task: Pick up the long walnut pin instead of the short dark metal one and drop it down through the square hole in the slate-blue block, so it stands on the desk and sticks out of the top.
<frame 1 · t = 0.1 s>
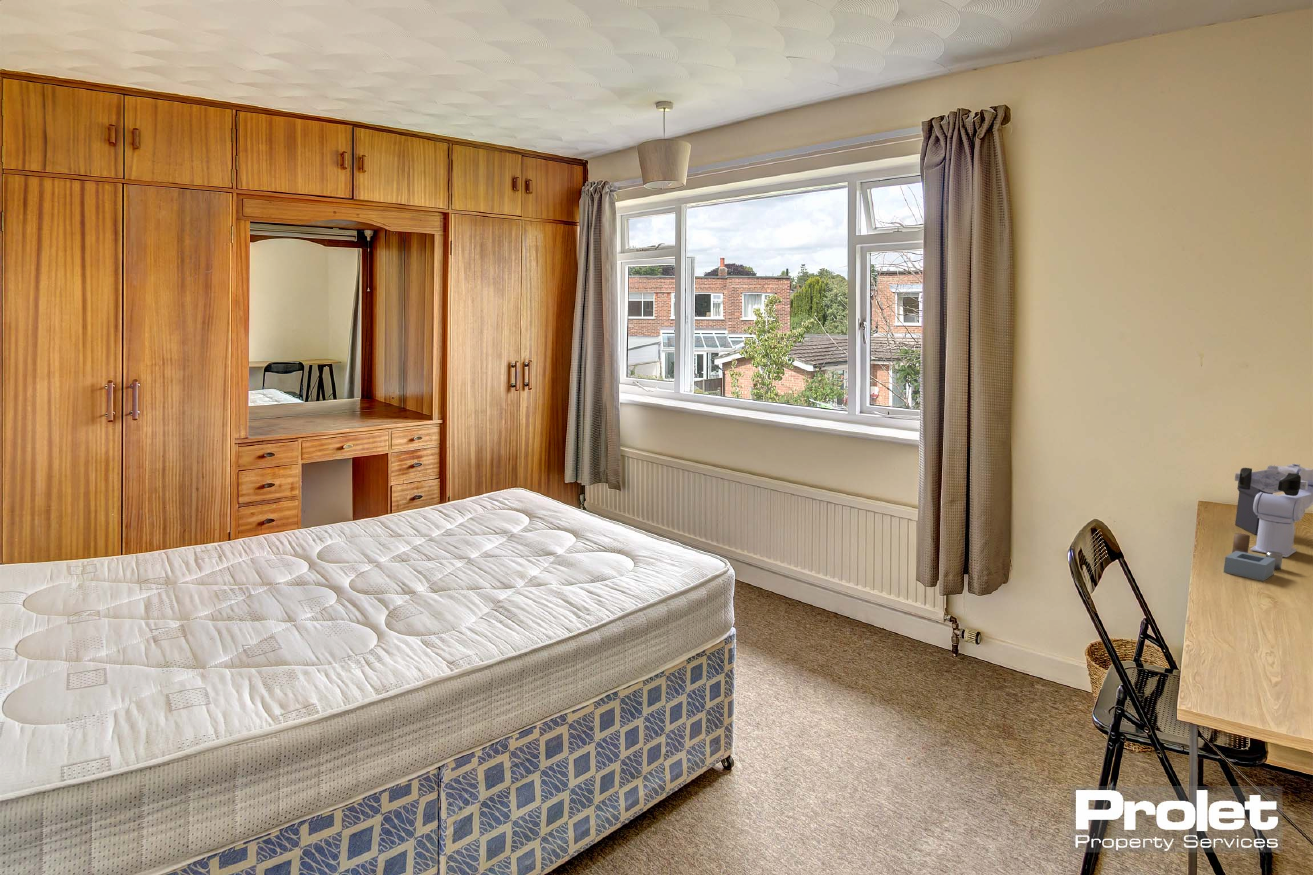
hand: (1260, 483, 187), 22 cm above the table, tool horizontal, fingers open, 7 cm apart
hole block: (1248, 573, 186), on the table
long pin: (1238, 560, 195), on the table
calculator: (1250, 530, 222), on the table
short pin: (1272, 568, 189), on the table
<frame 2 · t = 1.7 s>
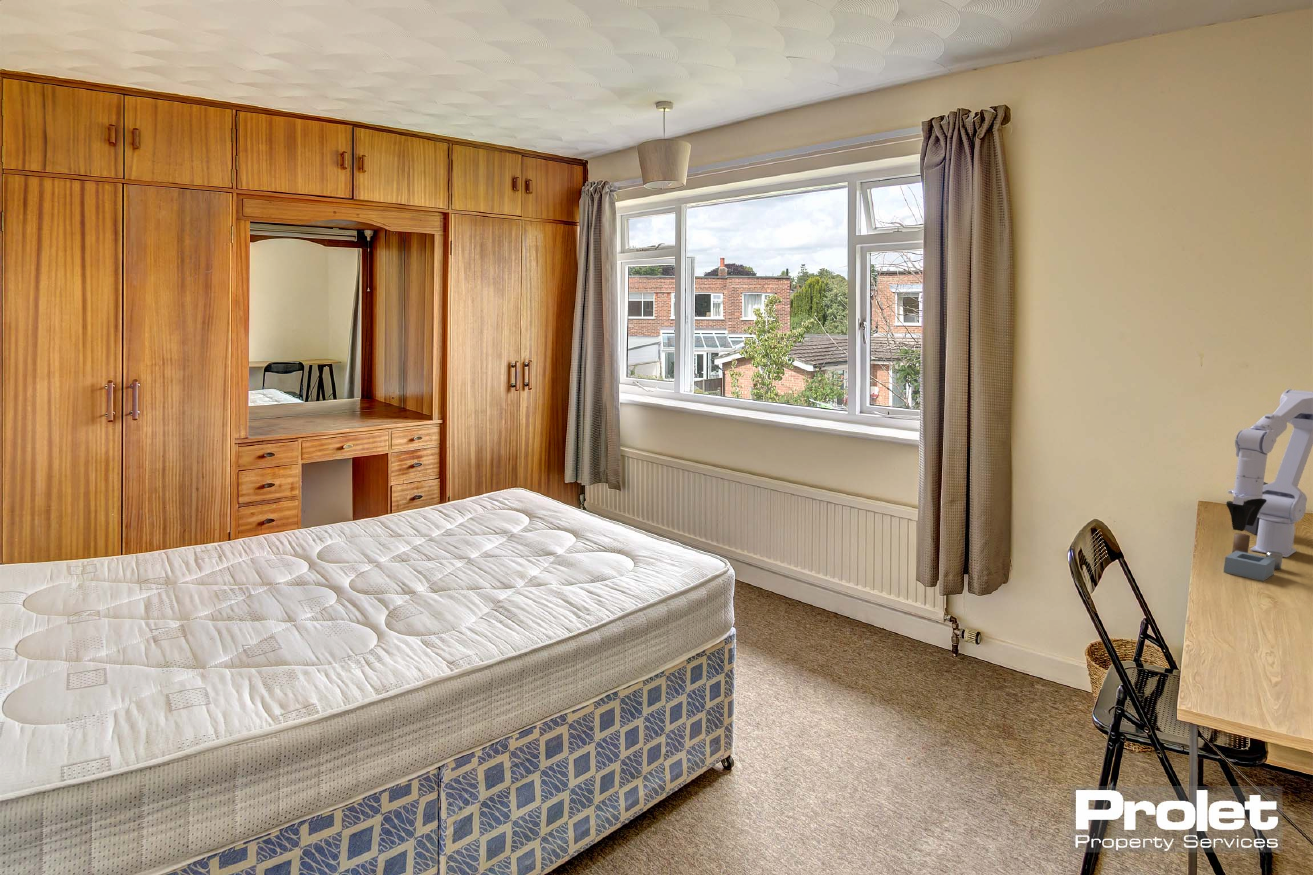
hand: (1243, 527, 193), 9 cm above the table, tool pointing down, fingers open, 7 cm apart
nothing on the table moved.
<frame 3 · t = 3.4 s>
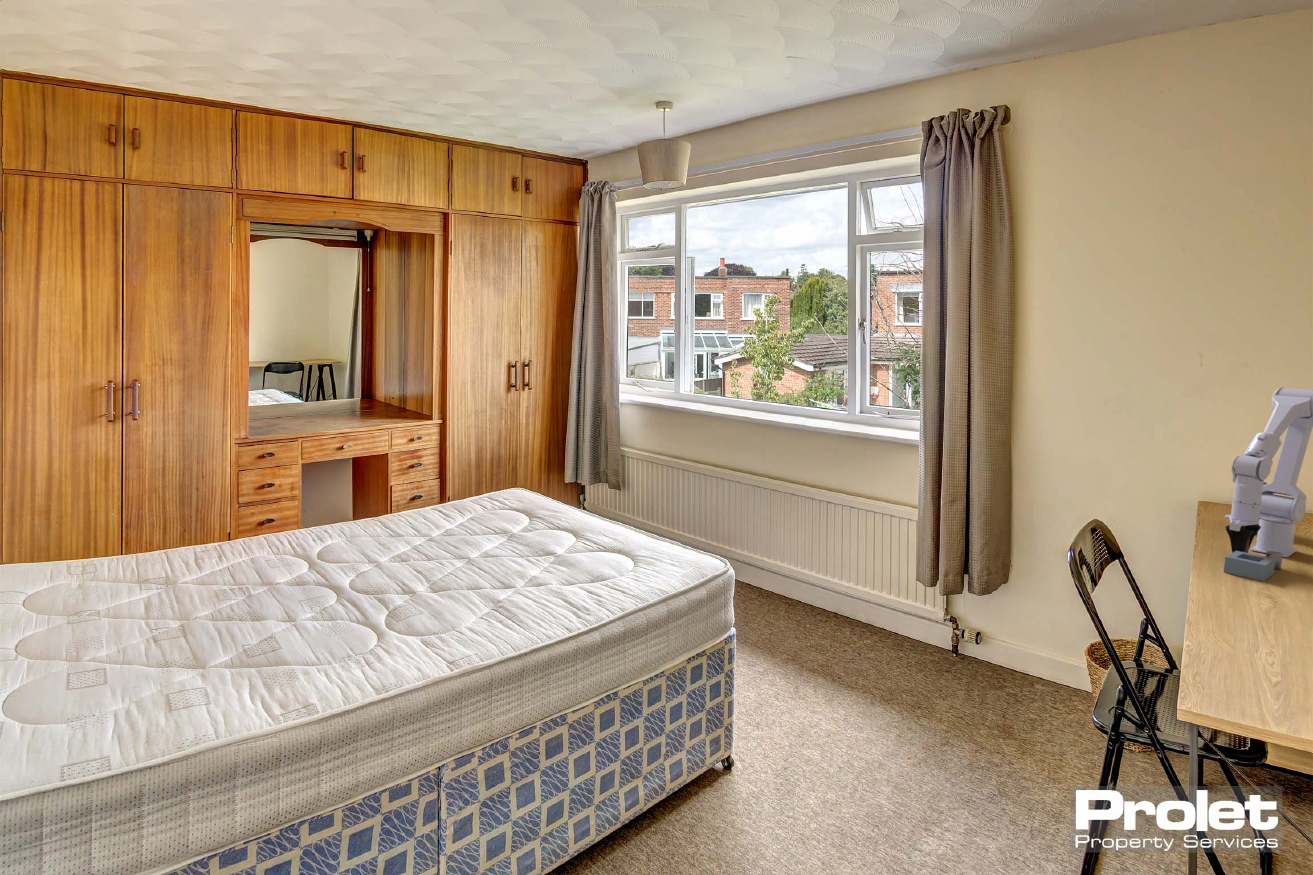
hand: (1239, 552, 194), 2 cm above the table, tool pointing down, fingers closed on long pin, 3 cm apart
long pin: (1238, 560, 195), on the table, touching gripper
everything else where it was.
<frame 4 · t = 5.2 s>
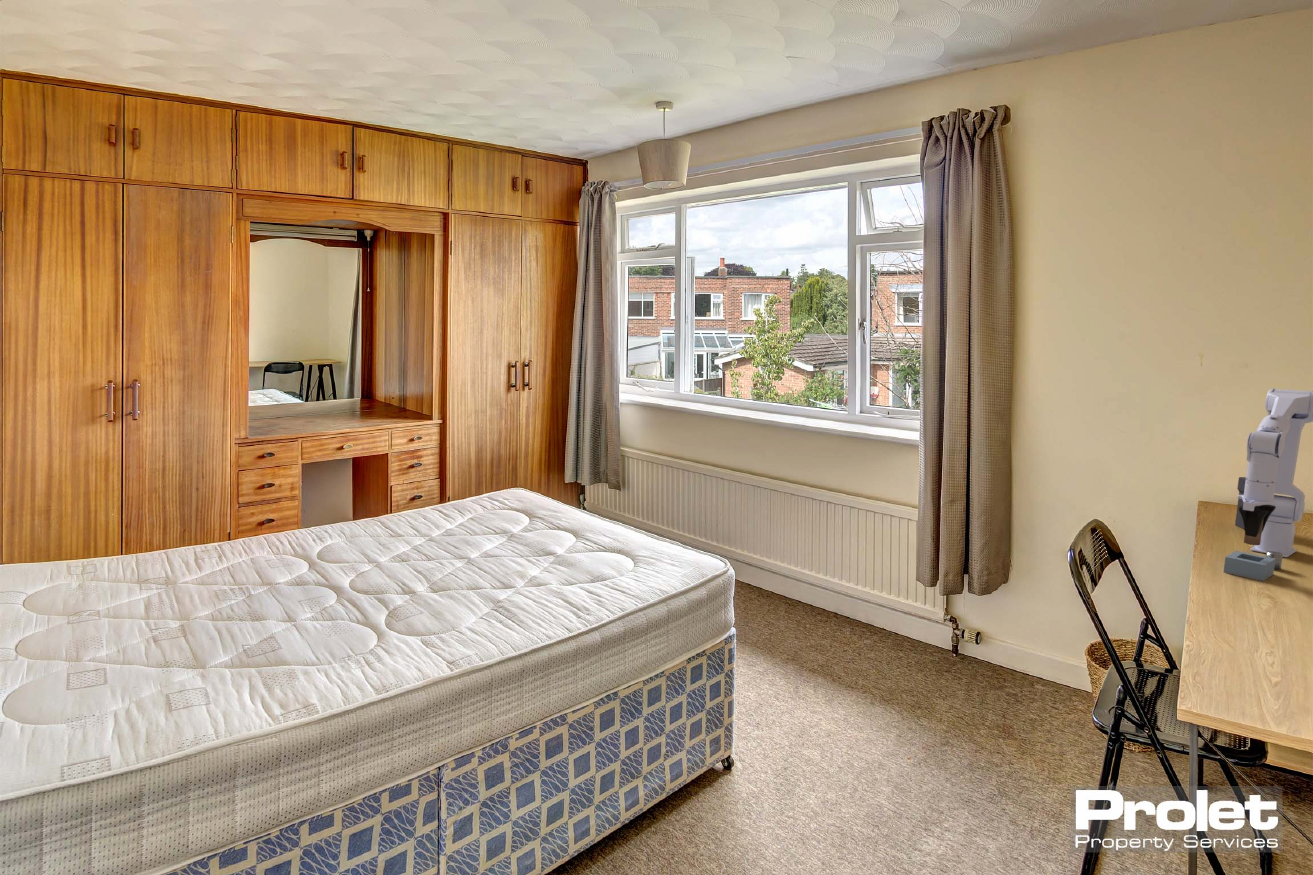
hand: (1253, 534, 184), 10 cm above the table, tool pointing down, fingers closed on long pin, 3 cm apart
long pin: (1251, 543, 184), point 8 cm above the table, touching gripper
everything else where it was.
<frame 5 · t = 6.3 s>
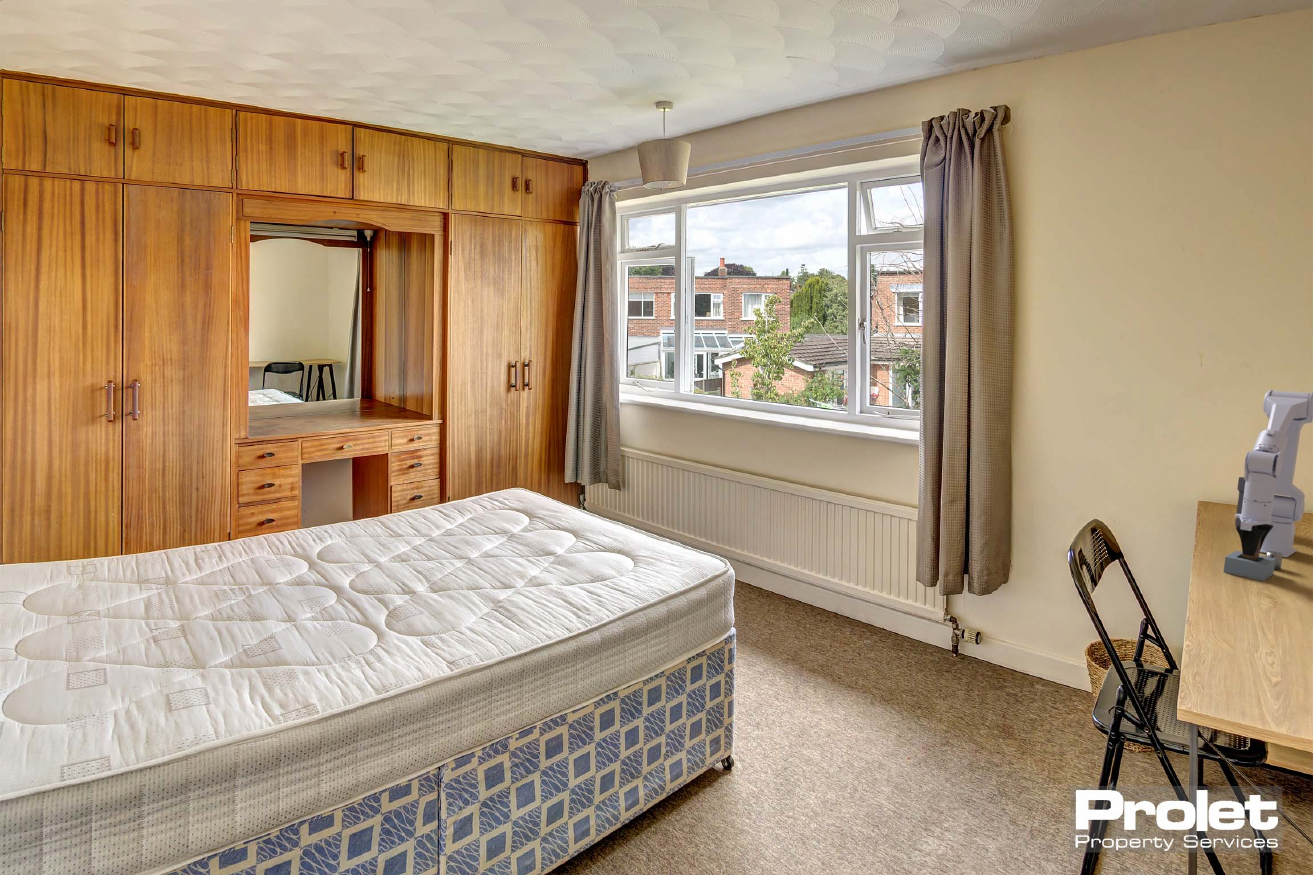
hand: (1250, 553, 185), 5 cm above the table, tool pointing down, fingers closed on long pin, 3 cm apart
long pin: (1249, 562, 185), point 3 cm above the table, touching gripper
everything else where it was.
when the fingers open (5 cm above the table, at t = 7.1 s): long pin drops 3 cm, resting in hole block.
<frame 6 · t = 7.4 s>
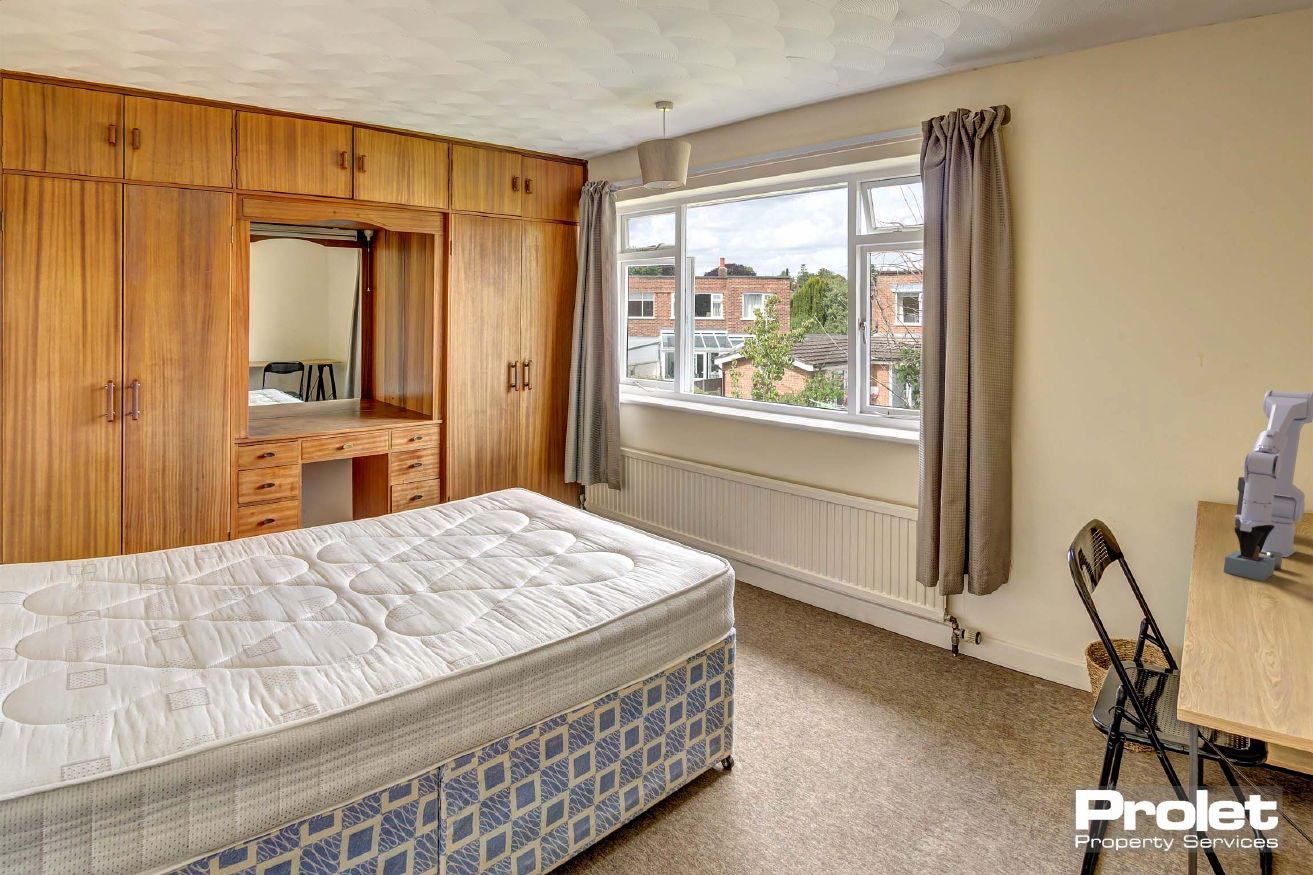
hand: (1250, 554, 185), 5 cm above the table, tool pointing down, fingers open, 5 cm apart
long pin: (1248, 573, 186), resting in hole block
everything else where it was.
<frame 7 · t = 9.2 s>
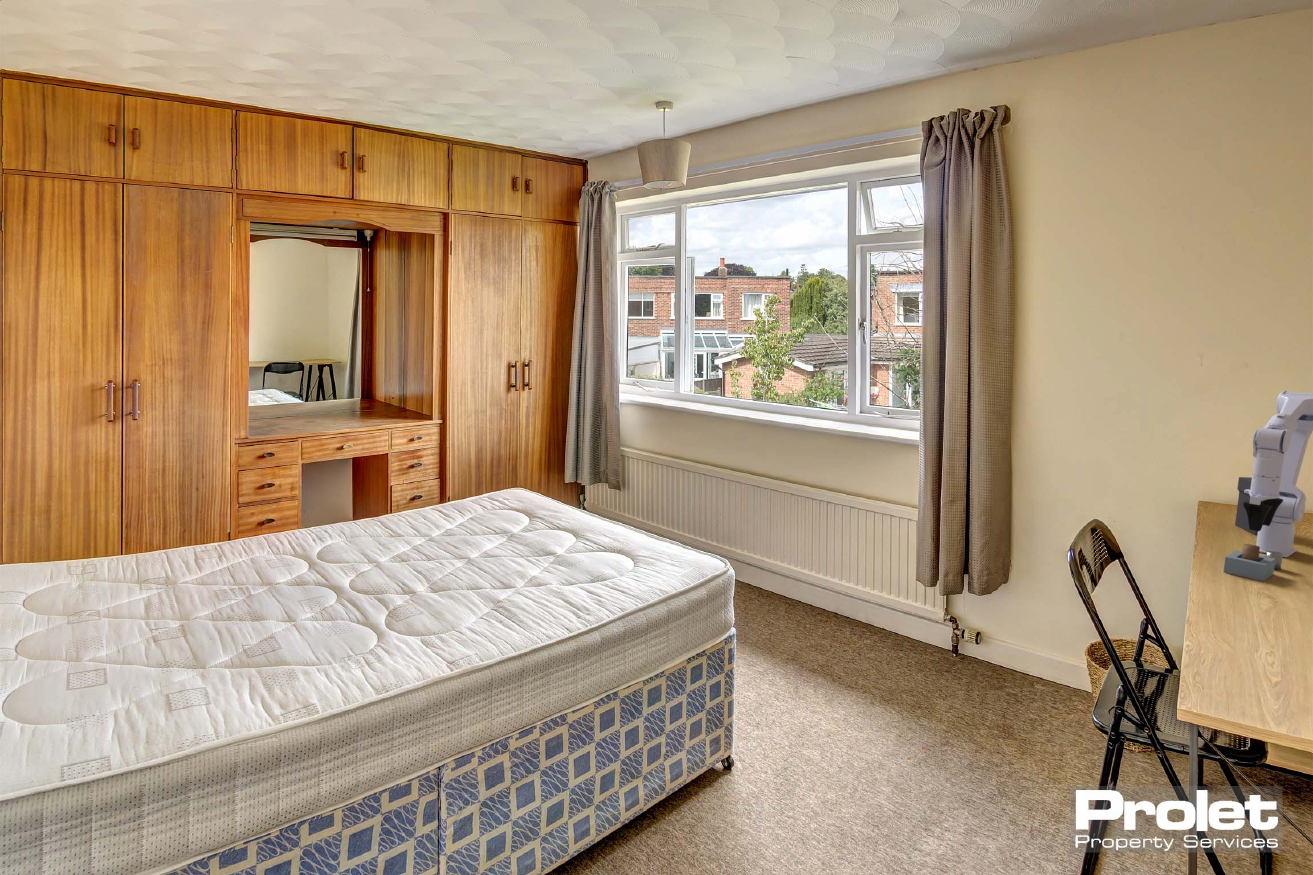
hand: (1259, 527, 192), 9 cm above the table, tool pointing down, fingers open, 7 cm apart
nothing on the table moved.
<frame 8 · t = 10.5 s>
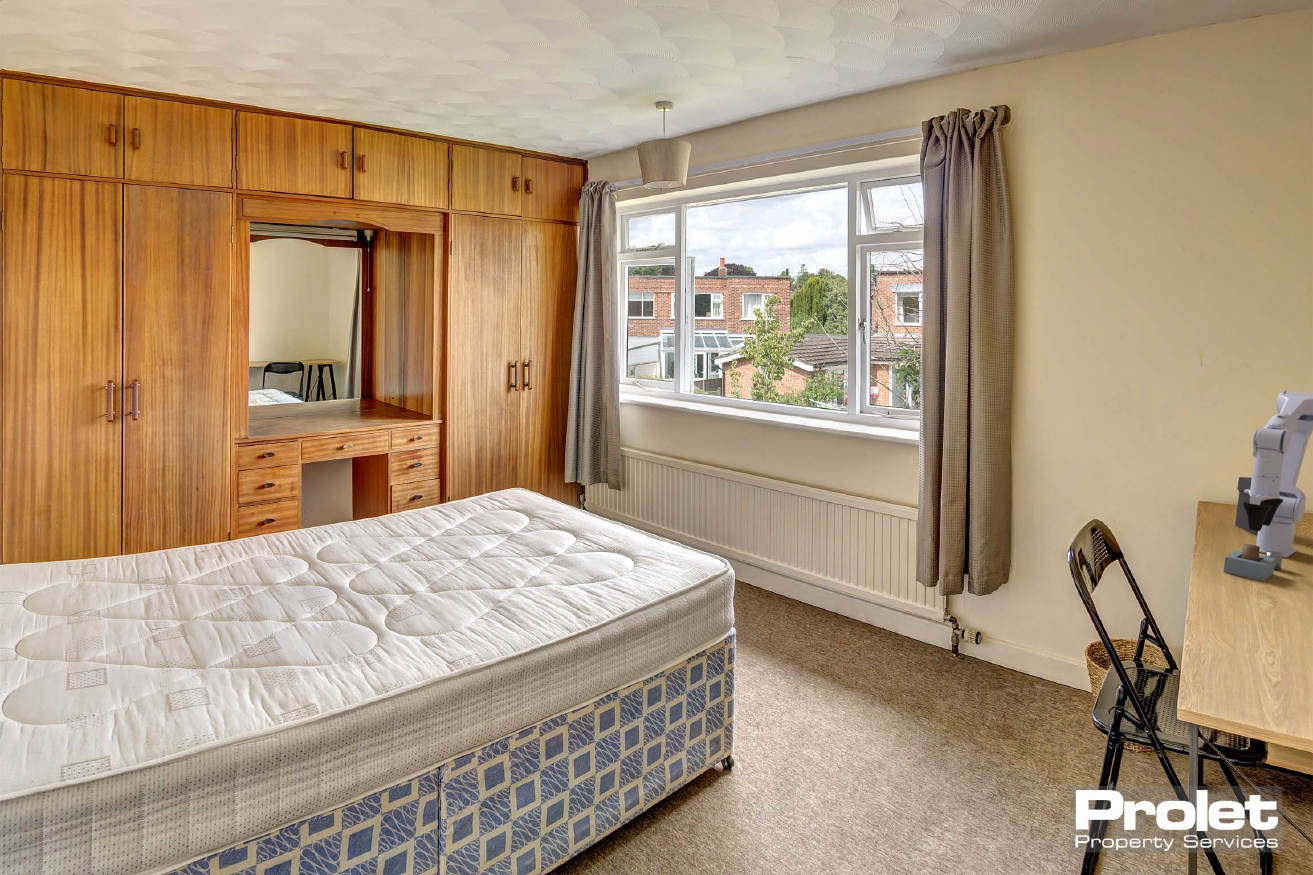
hand: (1259, 527, 192), 9 cm above the table, tool pointing down, fingers open, 7 cm apart
nothing on the table moved.
at the end: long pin 0.1 cm off-centre on the hole block, point 0.0 cm above the hole block's base; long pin tilted 0°; the gripper is holding nothing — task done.
